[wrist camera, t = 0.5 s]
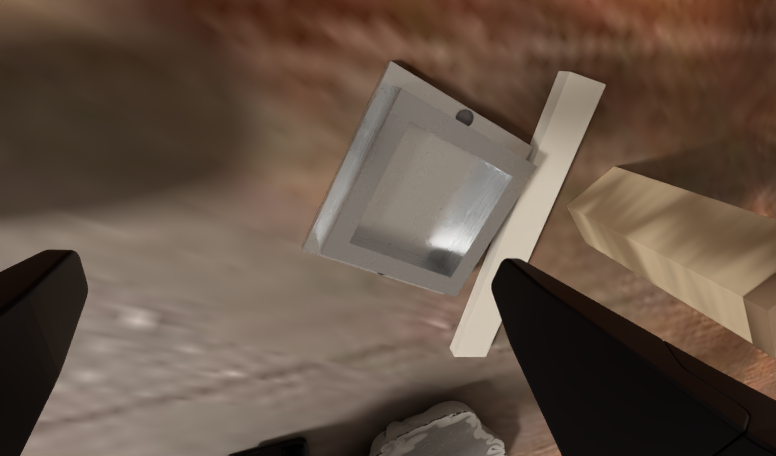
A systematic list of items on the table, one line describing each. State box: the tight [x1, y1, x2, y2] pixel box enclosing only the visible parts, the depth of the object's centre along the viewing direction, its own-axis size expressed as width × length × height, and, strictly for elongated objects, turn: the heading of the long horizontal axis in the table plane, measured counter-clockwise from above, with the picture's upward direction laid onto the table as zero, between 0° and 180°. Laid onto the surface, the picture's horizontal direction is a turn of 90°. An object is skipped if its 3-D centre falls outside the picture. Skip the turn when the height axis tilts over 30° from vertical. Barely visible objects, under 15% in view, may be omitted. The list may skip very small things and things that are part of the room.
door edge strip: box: [450, 71, 606, 357], centre depth 27 cm, size 22×3×1 cm, turn 166°
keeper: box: [302, 61, 538, 297], centre depth 23 cm, size 12×11×3 cm
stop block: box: [566, 166, 776, 359], centre depth 23 cm, size 5×5×13 cm
